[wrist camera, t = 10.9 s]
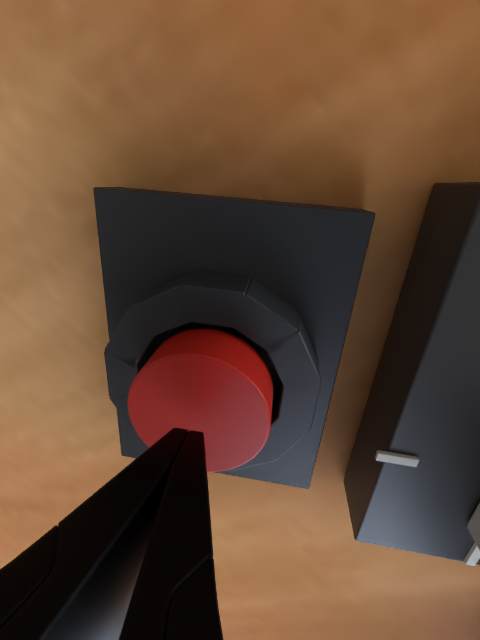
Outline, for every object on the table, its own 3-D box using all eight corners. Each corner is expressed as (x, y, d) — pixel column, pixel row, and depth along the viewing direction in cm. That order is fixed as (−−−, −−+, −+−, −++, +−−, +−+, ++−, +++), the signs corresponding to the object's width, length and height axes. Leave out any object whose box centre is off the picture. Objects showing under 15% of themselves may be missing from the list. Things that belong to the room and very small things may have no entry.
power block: (306, 459, 16) (311, 529, 13) (136, 430, 17) (100, 488, 13) (363, 208, 11) (395, 218, 8) (118, 187, 12) (55, 187, 9)
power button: (265, 442, 12) (262, 483, 10) (151, 423, 12) (131, 460, 10) (281, 336, 10) (280, 366, 8) (147, 319, 10) (120, 343, 9)
